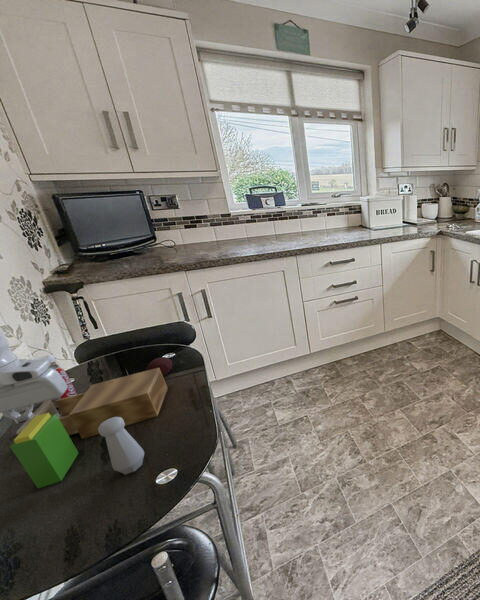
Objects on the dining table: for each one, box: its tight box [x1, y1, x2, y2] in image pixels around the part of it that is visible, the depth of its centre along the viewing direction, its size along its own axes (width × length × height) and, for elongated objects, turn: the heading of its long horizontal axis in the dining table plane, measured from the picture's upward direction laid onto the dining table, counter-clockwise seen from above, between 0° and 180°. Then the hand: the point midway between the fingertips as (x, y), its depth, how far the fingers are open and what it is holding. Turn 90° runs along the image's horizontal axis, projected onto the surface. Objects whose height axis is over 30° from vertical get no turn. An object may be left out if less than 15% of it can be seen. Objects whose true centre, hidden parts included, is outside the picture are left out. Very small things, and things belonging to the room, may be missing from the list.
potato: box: [145, 356, 173, 378], centre depth 111 cm, size 8×9×6 cm
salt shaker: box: [98, 417, 145, 475], centre depth 72 cm, size 6×6×13 cm
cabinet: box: [69, 368, 168, 440], centre depth 93 cm, size 17×15×8 cm
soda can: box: [43, 364, 78, 409], centre depth 99 cm, size 7×7×12 cm
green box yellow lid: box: [9, 413, 80, 490], centre depth 73 cm, size 4×9×13 cm, turn 25°
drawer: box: [7, 391, 87, 443], centre depth 88 cm, size 20×14×6 cm
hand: (26, 420), depth 85 cm, fingers closed
